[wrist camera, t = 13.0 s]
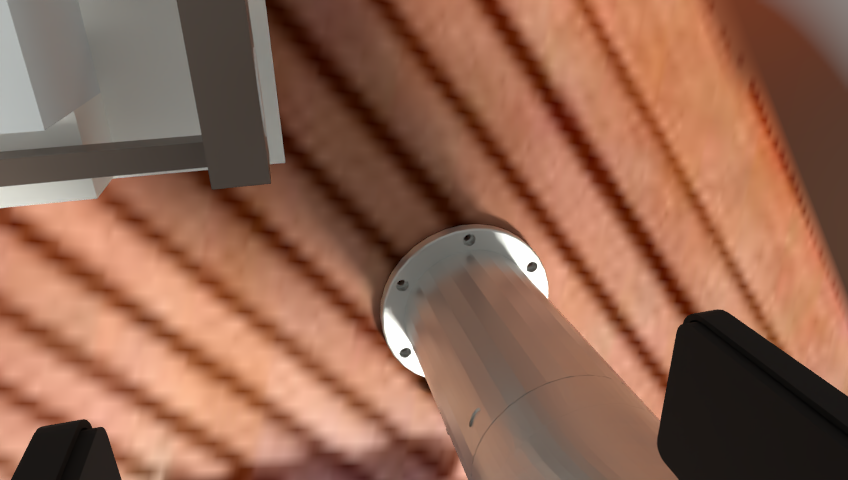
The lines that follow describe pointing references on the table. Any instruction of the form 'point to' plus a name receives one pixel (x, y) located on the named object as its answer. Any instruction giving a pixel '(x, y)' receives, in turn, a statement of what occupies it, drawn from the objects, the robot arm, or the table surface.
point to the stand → (104, 82)
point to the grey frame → (216, 106)
